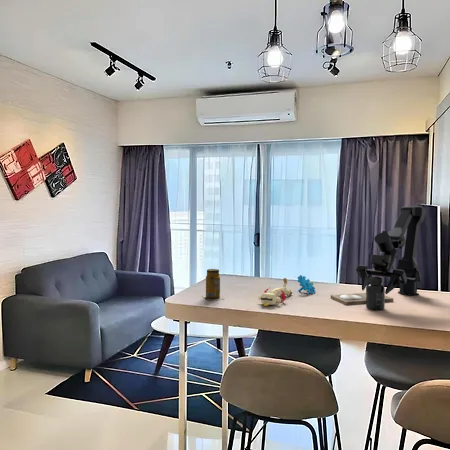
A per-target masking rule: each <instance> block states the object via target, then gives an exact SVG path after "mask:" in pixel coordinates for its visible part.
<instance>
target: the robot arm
mask: <svg viewBox="0 0 450 450" xmlns="http://www.w3.org/2000/svg"><path fill="white" fill-rule="evenodd" d="M426 215H427V208H425V207H424V206H423V205H407V206H405V205H404V206H401V208H400V212H399V216H398V217H397V218H396V219H397V220H396V222H395V224H394V226H393V228H392V229H390V230H389V231H388V230H382V231H381V232H380V233H378V234H376V235H375V236H374V242H375V244H376V247H377V248H378V251H380V254H371V256H370V261H369V263H370V264H371V265H372V268H373V269H370V268H369V266H368V265H365V264H364V265H363V264H358V265H357V266H356V268H355V271H356V273H357V275H358V278H360V279H361V290H362V291H365V290H366V286H367V285H368V284H369V277H372V276H375V277H380V278H388V279H389V281H388V284H387V285H386V287H385V295H388V294H389V293H390V292H392V291H393V290H394V289H396V288H397V287H399V290H398V291H397V293H399V294H401V295H403V296H407V297H408V296H418V295H420V293H418V282H419V283H420V282H422V275H421V272H420V270H419V264H418V262H417V260H416V253H417V247H418V245H417V244H418V238H419V230H420V226H421V225H422V223H423V222H424V221H425V216H426ZM405 234H406V235H405ZM403 247H404V250H403V256H402V257H401V259H399V260H398V262H397V267H396V268H394V263H395V261H396V259H398V258H399V255H398V250H401V249H403ZM397 249H398V250H397ZM391 271H392V272H391Z"/></svg>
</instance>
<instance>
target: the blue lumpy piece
mask: <svg viewBox="0 0 450 450" xmlns="http://www.w3.org/2000/svg"><path fill="white" fill-rule="evenodd" d="M310 281H311V280H310V278H307V277H306V276H305V275H303V274H302V275H301V274H299V276H298V277H297V283H299V287H300V288H299V289H298V290H297V291H298V292H299V293H300V292H301V291H306V293H308V294H310V295H313V294H314V293H315V292H316V288H315V286H314V282H313V281H311V282H310Z"/></svg>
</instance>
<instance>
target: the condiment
mask: <svg viewBox="0 0 450 450" xmlns="http://www.w3.org/2000/svg"><path fill="white" fill-rule="evenodd" d="M220 276H221V275H220V270H219V269H217V268H208V269H206V276H205V295H202V297H203V299H205V300H207V301H220V300H221V301H222V300H225V298H224V297H222V296H221V277H220Z"/></svg>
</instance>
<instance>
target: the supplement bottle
mask: <svg viewBox="0 0 450 450" xmlns="http://www.w3.org/2000/svg"><path fill="white" fill-rule="evenodd" d="M385 291H386V287H385V285H384V284H383V277H380V276H370V277H369V282H368V284H367V286H366V288H365V293H366V303H365V307H366V309H367V310H370V311H377V312H378V311H383V310H385V305H386V304H385V303H386V302H385V296H386V294H385Z"/></svg>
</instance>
